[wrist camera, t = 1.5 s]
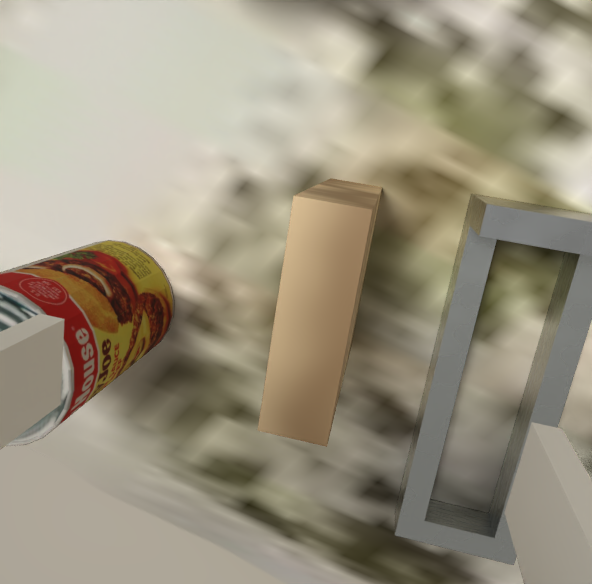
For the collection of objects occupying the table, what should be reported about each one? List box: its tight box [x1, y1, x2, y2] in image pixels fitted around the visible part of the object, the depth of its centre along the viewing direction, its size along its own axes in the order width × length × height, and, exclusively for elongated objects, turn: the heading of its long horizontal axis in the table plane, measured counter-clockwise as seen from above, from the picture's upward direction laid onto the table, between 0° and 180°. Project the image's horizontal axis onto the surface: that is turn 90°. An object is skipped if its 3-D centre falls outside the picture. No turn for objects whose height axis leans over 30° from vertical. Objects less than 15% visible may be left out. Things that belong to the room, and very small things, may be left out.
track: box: [395, 194, 592, 565], centre depth 31 cm, size 7×21×6 cm, turn 171°
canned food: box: [0, 240, 174, 446], centre depth 31 cm, size 8×8×12 cm
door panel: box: [258, 179, 382, 447], centre depth 28 cm, size 3×10×12 cm, turn 171°
